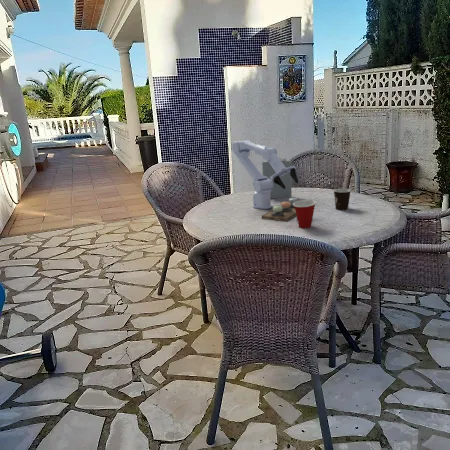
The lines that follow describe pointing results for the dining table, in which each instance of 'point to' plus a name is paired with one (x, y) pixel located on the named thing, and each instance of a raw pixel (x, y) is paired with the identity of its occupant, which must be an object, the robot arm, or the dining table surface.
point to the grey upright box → (286, 179)
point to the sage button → (277, 208)
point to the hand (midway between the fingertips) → (291, 185)
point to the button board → (281, 214)
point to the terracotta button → (285, 204)
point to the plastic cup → (304, 212)
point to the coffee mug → (342, 198)
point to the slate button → (293, 200)
